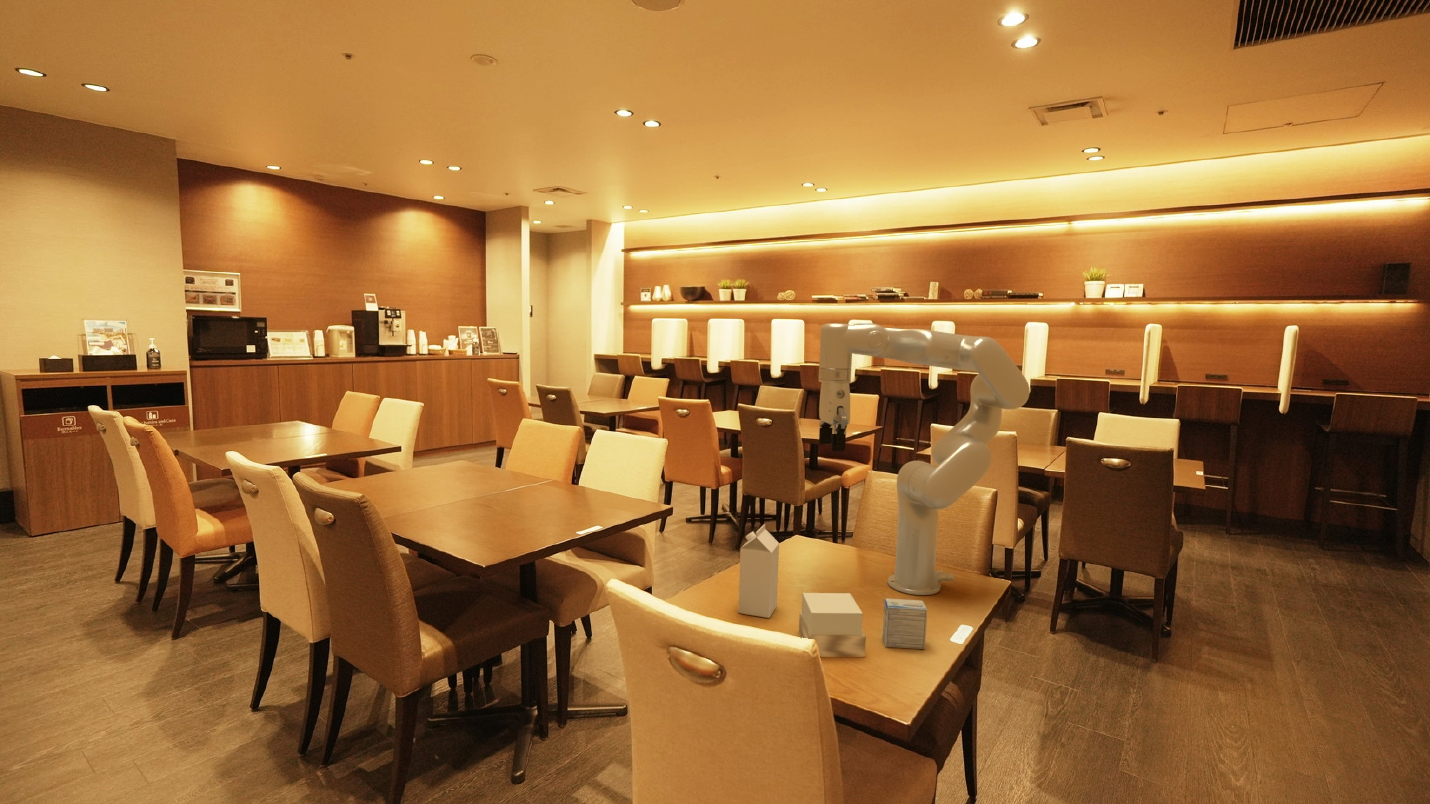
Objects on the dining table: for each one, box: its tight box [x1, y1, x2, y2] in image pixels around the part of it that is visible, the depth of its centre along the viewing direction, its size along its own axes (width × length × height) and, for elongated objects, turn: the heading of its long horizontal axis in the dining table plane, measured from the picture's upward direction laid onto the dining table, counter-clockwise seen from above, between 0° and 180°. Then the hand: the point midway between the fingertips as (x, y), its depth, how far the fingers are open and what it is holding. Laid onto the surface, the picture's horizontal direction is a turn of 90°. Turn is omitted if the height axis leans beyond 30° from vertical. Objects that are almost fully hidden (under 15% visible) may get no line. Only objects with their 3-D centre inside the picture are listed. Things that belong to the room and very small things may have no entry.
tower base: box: [798, 611, 867, 658], centre depth 135 cm, size 11×11×4 cm
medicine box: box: [882, 598, 928, 650], centre depth 136 cm, size 8×4×9 cm, turn 84°
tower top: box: [801, 592, 864, 636], centre depth 135 cm, size 10×10×4 cm
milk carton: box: [737, 523, 780, 619], centre depth 150 cm, size 7×7×19 cm
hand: (831, 447), depth 160 cm, fingers open, 9 cm apart
